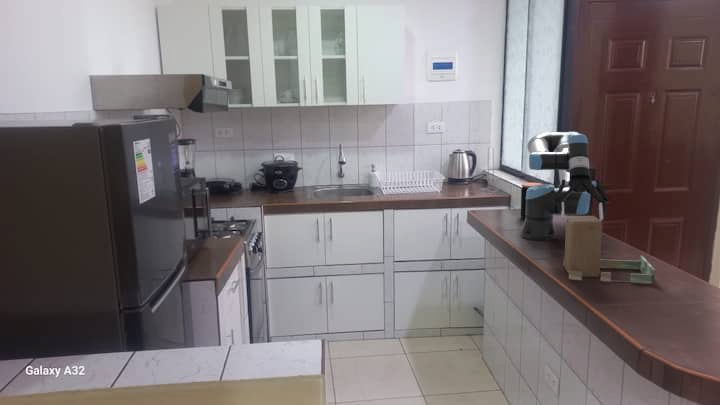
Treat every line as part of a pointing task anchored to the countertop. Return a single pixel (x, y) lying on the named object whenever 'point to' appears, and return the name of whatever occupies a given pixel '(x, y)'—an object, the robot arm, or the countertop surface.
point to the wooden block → (583, 245)
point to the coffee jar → (523, 197)
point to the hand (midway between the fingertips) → (582, 219)
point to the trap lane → (622, 264)
